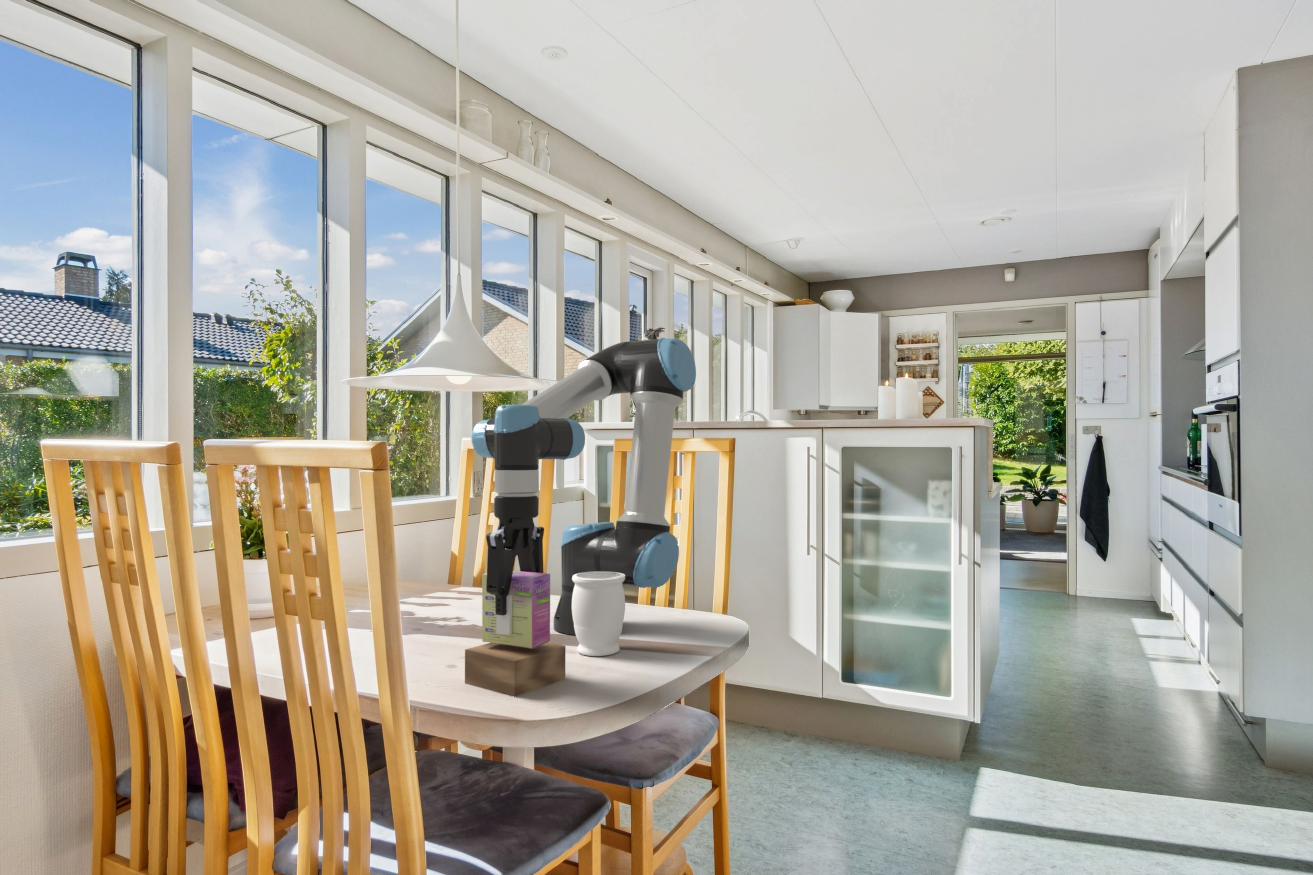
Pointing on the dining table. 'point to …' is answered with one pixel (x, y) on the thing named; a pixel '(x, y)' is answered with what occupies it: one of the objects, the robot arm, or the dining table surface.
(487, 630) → the box
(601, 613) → the jar
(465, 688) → the dining table surface
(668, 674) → the dining table surface
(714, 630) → the dining table surface
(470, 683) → the base block
